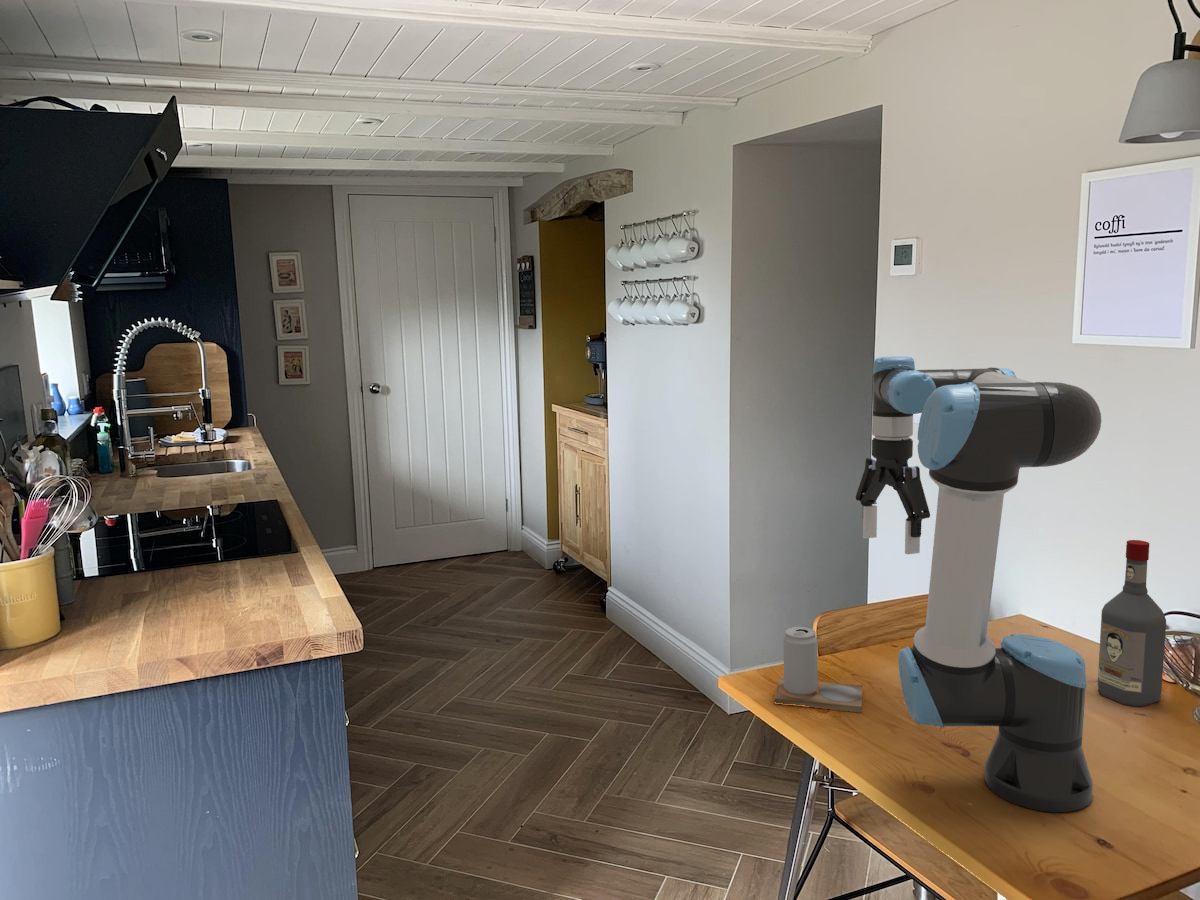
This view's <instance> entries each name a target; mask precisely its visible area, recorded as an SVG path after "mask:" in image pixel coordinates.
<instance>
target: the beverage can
mask: <svg viewBox="0 0 1200 900" xmlns="http://www.w3.org/2000/svg"><path fill="white" fill-rule="evenodd" d="M816 633H817V632H816V631H815V630H814V629H812V628H809V627H806V626H793V627H789V628H786V629H785V634H784V636H783V678H784V688H785V689H786V690H787V691H788V692H789V693H790V694H793V695H796V696H807V695H810V694H812V693H813V692H815V691H816V690H817V688H818V678H819V677H818V663H819V662H818V655H819V654H818V651H819V649H818V643H819V641H818V640H819V639H818V636H817V635H816Z"/></svg>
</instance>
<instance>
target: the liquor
mask: <svg viewBox="0 0 1200 900" xmlns="http://www.w3.org/2000/svg"><path fill="white" fill-rule="evenodd" d="M1149 554H1150V542H1148V541H1146V540H1141V539H1140V540H1139V539H1127V541H1126V549H1125V558H1126V560H1125V561H1126V562H1125V572H1124V573H1125V574H1124V575H1125V576H1124V585H1123V586H1122V590H1121V591H1120V592H1119V593H1118V594H1116V595H1115V596H1114V597H1113V598H1111V599H1110V600H1108V602H1106V603H1105V604H1104V605H1103V608H1102V609H1101V616H1100V617H1101V618H1100V619H1101V620H1100V633H1099V634H1100V636H1099V651H1098V652H1099V653H1098V672H1097V674H1098V675H1097V687H1098V692H1099V693H1100V694H1101V696H1103V697H1105V698H1108V699H1110V700H1112V701H1115V702H1117V703H1119V704H1122V705H1125V706H1132V707H1133V706H1134V707H1139V708H1140V707H1143V706H1147V705H1152V704H1154V703H1159V701H1160V700H1161V698H1162V689H1163V688H1162V686H1163V673H1164V659H1165V645H1166V632H1167V631H1166V629H1167V628H1166V627H1167V619H1166V614H1165V613H1164V612H1163V610H1162V608H1161V607H1160V606H1159V605H1158V604H1157V603H1156V602H1155V600H1154V599H1153V598H1152V597H1151V596H1150V595H1149V594H1148V588H1147V577H1148V561H1149V559H1150V555H1149Z"/></svg>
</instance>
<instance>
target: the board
mask: <svg viewBox="0 0 1200 900" xmlns="http://www.w3.org/2000/svg"><path fill="white" fill-rule="evenodd" d="M777 683H778V684H777V687H776V691H775V694H774V695H775V696H774V702H776V703H783V704H796V705H805V706H809V707H816V708H815V709H817V708H824V709H823V710H827V709H831V710H830V711H838V710H839V712H848V711H849V712H851V713H860V714H861V713H863V686H864V685H860V684H851V683H841V682H839V683H838V682H829V681H828V682H827V681H818V688H817V690H816V691H815V692H813V693H812V694H810V695H807V696H796V695H793V694H790V693H789V692H788V691H787V690H786V689H785V688H784V677H783V678H782V677H779V679H778V682H777Z"/></svg>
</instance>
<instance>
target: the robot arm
mask: <svg viewBox="0 0 1200 900" xmlns="http://www.w3.org/2000/svg"><path fill="white" fill-rule="evenodd" d="M915 367H916V366H915V360H914V358H913V357H912V356H879V357H876V358H875V359H874V360H873V368H872V369H873V370H872V374H871V376H872V377H871V378H872V415H871V435H872V436H874V437H873V439H871V456H872V457H866V458H865V464H864V465H865V466H864V470H863V474H862V477H861V480H860V482H859V485H858V488H857V491H856V493H855V494H856V495H855V500H856V501H858V502H860V505H862V538H863V539H873V538H877V534H878V533H877V529H878V525H877V524H878V523H877V522H878V505H877V504H878V502H877V499H878V498H879V496H880V495H881V494H882V491H883V490H884V489H885V487H886V486H889V487H892V489H893V490H894V491H896V493H897V495H898V497H899V500H900V501H901V504H902V506H903V509H904V510H905V513H906V515H907V518H905V526H904V527H905V528H904V529H905V530H904V538H905V539H904V554H905V555H913V554H920V552H921V551H920V546H921V545H920V543H921V536H922V522H923V520H925V519H929V518H930V517H931V513H930V509H929V504H928V502H927V498H926V494H925V491H924V487H923V484H922V481H921V471H920V470H921V468H920V467H919V465H915V466H909V464H908V463H909V459H911V458H913V452H914V451H913V450H914V447H913V446H914V445H913V444H914V440H913V439H912V438H911V437H912V436H913V435H914V434H913V433H914V415H917V414H918V415H919V414H920V418H919V423H918V427H917V428H918V430H917V440H918V444H917V453H918V459H919V461H920V463H921V465H922V466H923V467H924V468H925V469H928V470H929V471H928V476H929V478H930V479H931V480H932V482H934V484H936V485H937V486H938V494H937V495H938V496H937V505H936V515H935V524H934V537H933V546H932V556H931V557H932V558H931V567H930V576H929V586H928V587H929V589H928V596H927V597H928V598H927V607H926V608H927V609H926V620H925V625H924V626H922V627H921V628H920V629H917V631H916V632H915V634H914V636H913V642H912V644H913V645H912V647H911V646H910V647H909V646H906V647H904V648H901V649H900V651H899V653H898V658H897V659H898V672H899V681H900V686H901V689H902V690H901V691H902V694H903V698H904V702H905V705H906V708H907V711H908V713H909V715H910V717H911V718H912V719H913V721H914V722H916V723H917V724H919V725H921V726H934V727H936V726H938V727H940V728H945V727H998V733H997V734H996V735H997V736H996V738H995V740H994V742H993V744H992V747H991V749H990V751H989V753H988V756H987V758H986V760H985V764H984V781H985V784H986V785H987V787H988V788H989V789H990V790H991V791H992V792H993V793H994V794H996V796H999V797H1000V798H1002V799H1003V800H1005V801H1008V802H1010V803H1012V804H1014V805H1017V806H1020V807H1023V808H1027V809H1031V810H1034V811H1041V812H1049V813H1066V812H1067V813H1069V812H1074V811H1079V810H1082V809H1084V808H1086V807H1087V806H1089V804H1090V803H1091V802H1092V800H1093V793H1094V792H1093V790H1094V784H1093V778H1092V776H1091V771H1090V769H1089V766H1088V762H1087V758H1086V755H1085V753H1084V750H1083V733H1084V730H1083V729H1084V718H1085V716H1084V715H1085V703H1086V702H1085V701H1086V689H1087V686H1088V684H1087V681H1086V680H1087V678H1086V677H1087V676H1086V675H1087V674H1086V662H1085V659H1084V658H1083V656H1082V655H1081V654H1080V653H1079V652H1078V651H1076V650H1075V649H1073V648H1072V647H1070V646H1068V645H1066V644H1063V643H1061V642H1059V641H1057V640H1052V639H1049V638H1045V637H1042V636H1037V635H1032V634H1031V635H1030V634H1022V633H1014V634H1010V635H1005V636H1004V637H1003V638H1002V640H1001V642H1000V647H997V648H996V647H995V644H994V642H993V640H991V639H990V638H989V637H988V636H987V635H988V634H987V633H988V626H989V617H990V610H991V609H990V608H991V602H992V593H993V586H994V584H993V583H994V578H995V569H996V562H997V552H998V545H999V536H1000V528H1001V523H1002V522H1001V521H1002V513H1003V506H1004V505H1003V504H1004V496H1005V494H1006V493H1009V492H1010V491H1011V490H1013V489H1014V488H1015V487H1016V486H1017V485H1018V482H1019V473H1020V469H1022V468H1043V467H1044V468H1045V467H1046V468H1047V467H1048V468H1049V467H1054V466H1059V465H1063V464H1065V463H1068V462H1071V461H1073V460H1075V459H1077V458H1078V457H1080V456H1082V455H1083V454H1084V453H1086V452H1087V451H1088V450H1089V449H1090V447H1091V446H1092V445H1093V444H1094V443H1095V441H1096V439H1097V437H1098V436H1099V433H1100V431H1101V426H1102V412H1101V410H1100V406H1099V405H1098V403H1097V401H1096V400H1095V398H1094V397H1093V396H1092V394H1090V393H1089V392H1088V391H1086V390H1084V389H1083V388H1081V387H1079V386H1077V385H1076V386H1075V385H1072V384H1068V383H1063V382H1051V381H1037V382H1032V381H1029V380H1026V379H1022V378H1018V377H1017V375H1016V374H1015V372H1014V370H1012V369H1010V368H1006V367H1005V368H1003V367H1002V368H1000V367H986V368H966V369H965V368H963V369H962V368H959V369H956V368H955V369H953V368H951V369H950V368H949V369H945V368H944V369H916V368H915Z"/></svg>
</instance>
